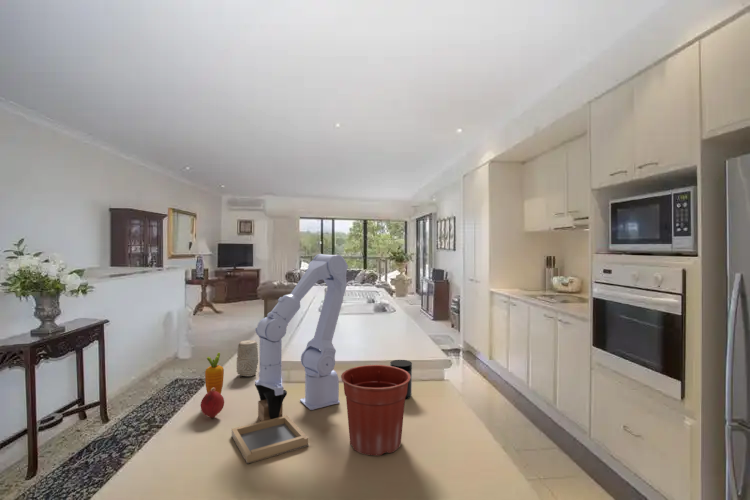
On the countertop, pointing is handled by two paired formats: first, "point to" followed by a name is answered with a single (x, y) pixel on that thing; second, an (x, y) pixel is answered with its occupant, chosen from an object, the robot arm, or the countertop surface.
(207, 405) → the onion
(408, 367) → the supplement container
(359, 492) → the countertop surface
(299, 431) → the slate tray
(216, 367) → the carrot
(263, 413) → the walnut block
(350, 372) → the flower pot
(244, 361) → the carving
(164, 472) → the countertop surface
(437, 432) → the countertop surface
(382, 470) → the countertop surface
